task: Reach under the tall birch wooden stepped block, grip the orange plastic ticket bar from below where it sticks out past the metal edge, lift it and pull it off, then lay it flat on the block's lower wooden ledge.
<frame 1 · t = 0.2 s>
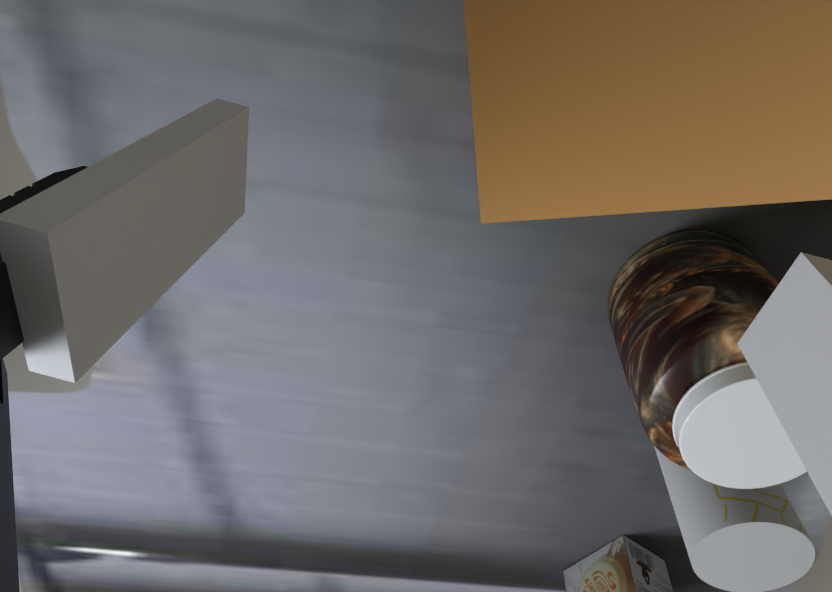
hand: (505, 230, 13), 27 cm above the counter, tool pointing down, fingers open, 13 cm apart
cup: (700, 437, 51), on the counter
jar: (681, 297, 44), on the counter
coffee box: (612, 562, 61), on the counter
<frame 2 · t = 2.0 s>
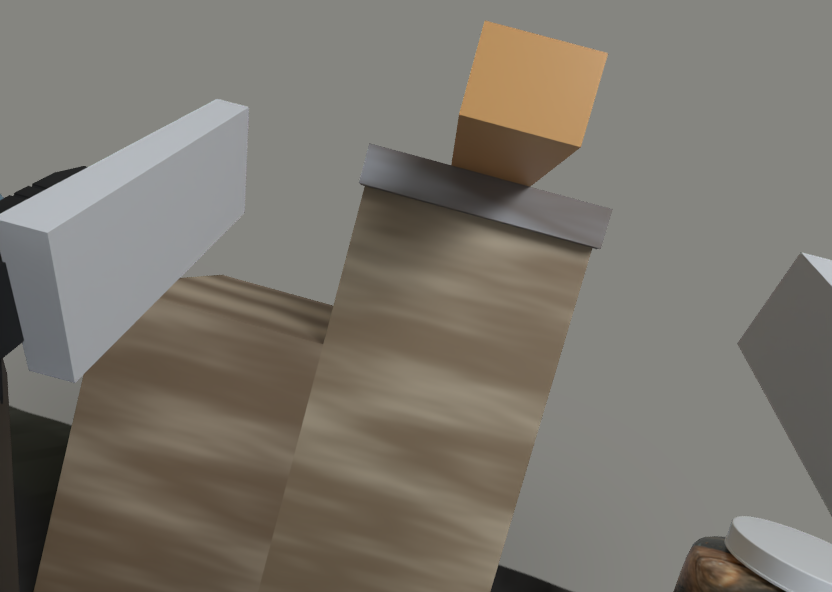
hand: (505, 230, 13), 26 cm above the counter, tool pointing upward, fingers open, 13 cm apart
ticket bar: (484, 184, 31), point 30 cm above the counter, touching wooden stepped block
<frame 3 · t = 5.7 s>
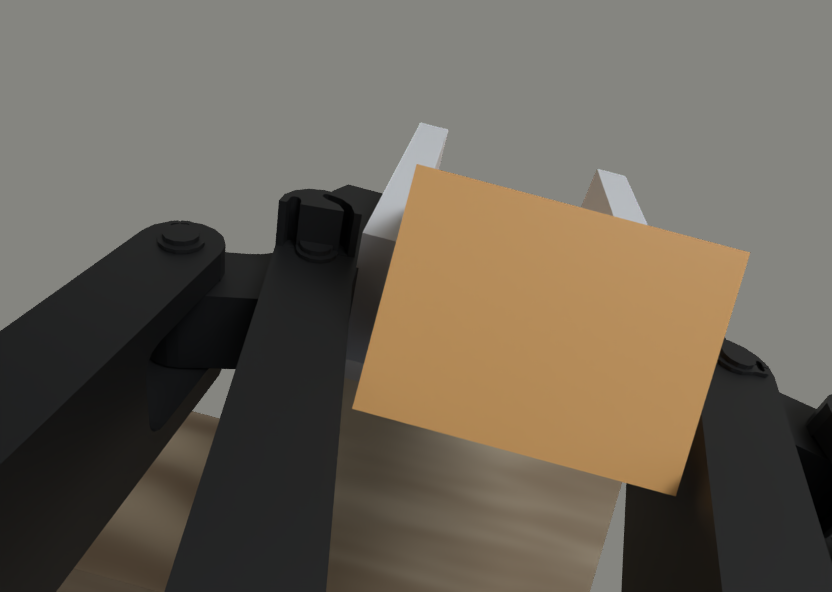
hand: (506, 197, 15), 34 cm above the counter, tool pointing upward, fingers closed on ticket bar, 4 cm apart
ticket bar: (458, 327, 20), point 30 cm above the counter, touching gripper, wooden stepped block
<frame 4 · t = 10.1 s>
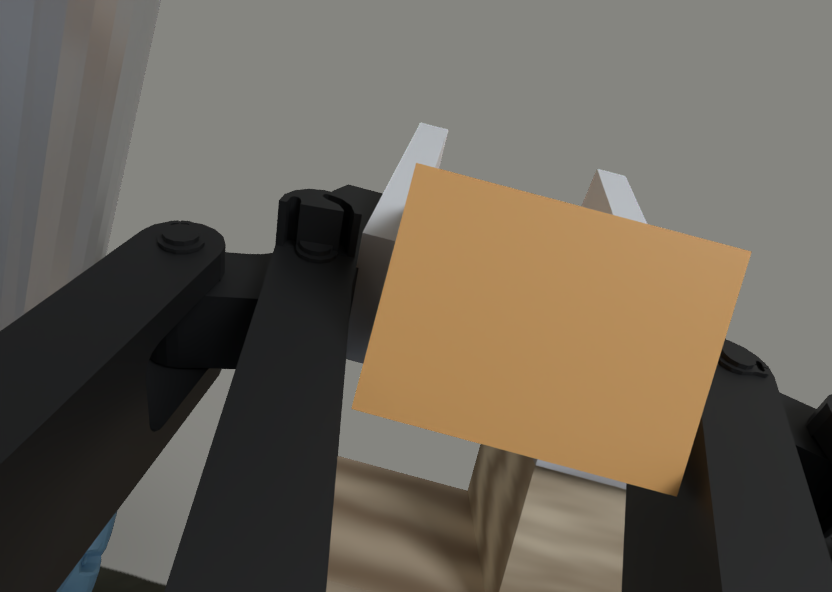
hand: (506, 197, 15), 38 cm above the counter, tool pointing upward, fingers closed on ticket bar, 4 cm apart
ticket bar: (458, 327, 20), point 34 cm above the counter, touching gripper
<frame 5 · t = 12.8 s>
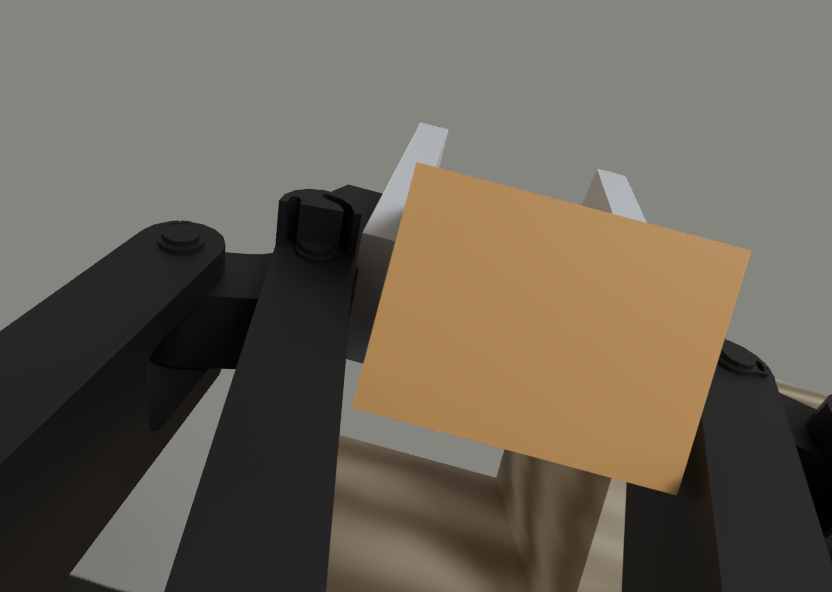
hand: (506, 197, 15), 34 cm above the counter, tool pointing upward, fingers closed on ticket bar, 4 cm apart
ticket bar: (458, 326, 20), point 29 cm above the counter, touching gripper
when the fingers open (25 cm above the counter, at t = 14.8 s): ticket bar drops 1 cm, resting on wooden stepped block.
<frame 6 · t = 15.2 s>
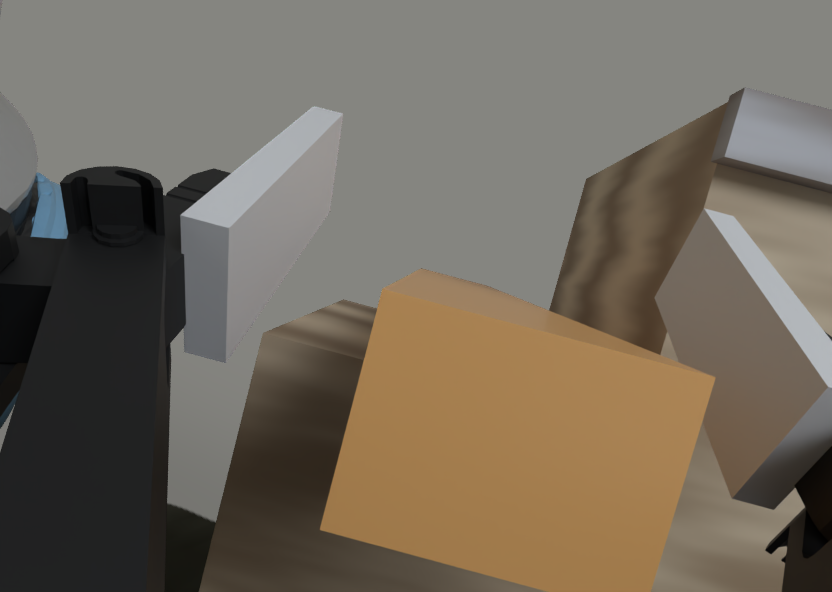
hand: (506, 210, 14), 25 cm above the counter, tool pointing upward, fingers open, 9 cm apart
ticket bar: (447, 368, 20), point 19 cm above the counter, touching wooden stepped block
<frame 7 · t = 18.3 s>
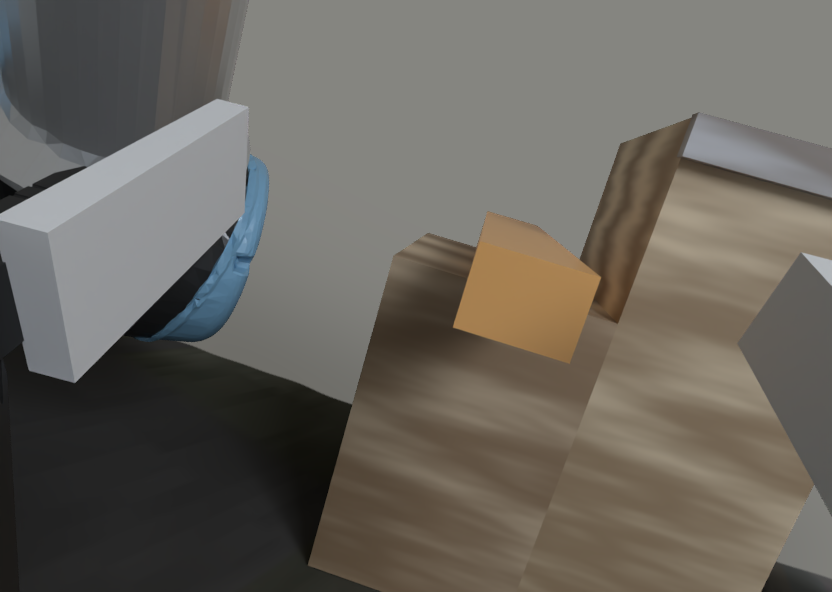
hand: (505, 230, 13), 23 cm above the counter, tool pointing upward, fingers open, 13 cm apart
ticket bar: (503, 282, 31), point 19 cm above the counter, touching wooden stepped block
wooden stepped block: (579, 575, 40), on the counter
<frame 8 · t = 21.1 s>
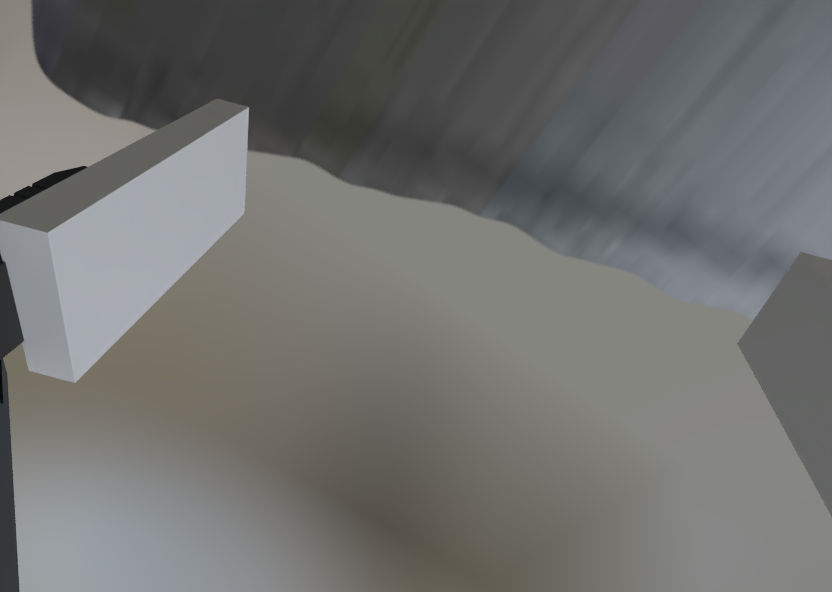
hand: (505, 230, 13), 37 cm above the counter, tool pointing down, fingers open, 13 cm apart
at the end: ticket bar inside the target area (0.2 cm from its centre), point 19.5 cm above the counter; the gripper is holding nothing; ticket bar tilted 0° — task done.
